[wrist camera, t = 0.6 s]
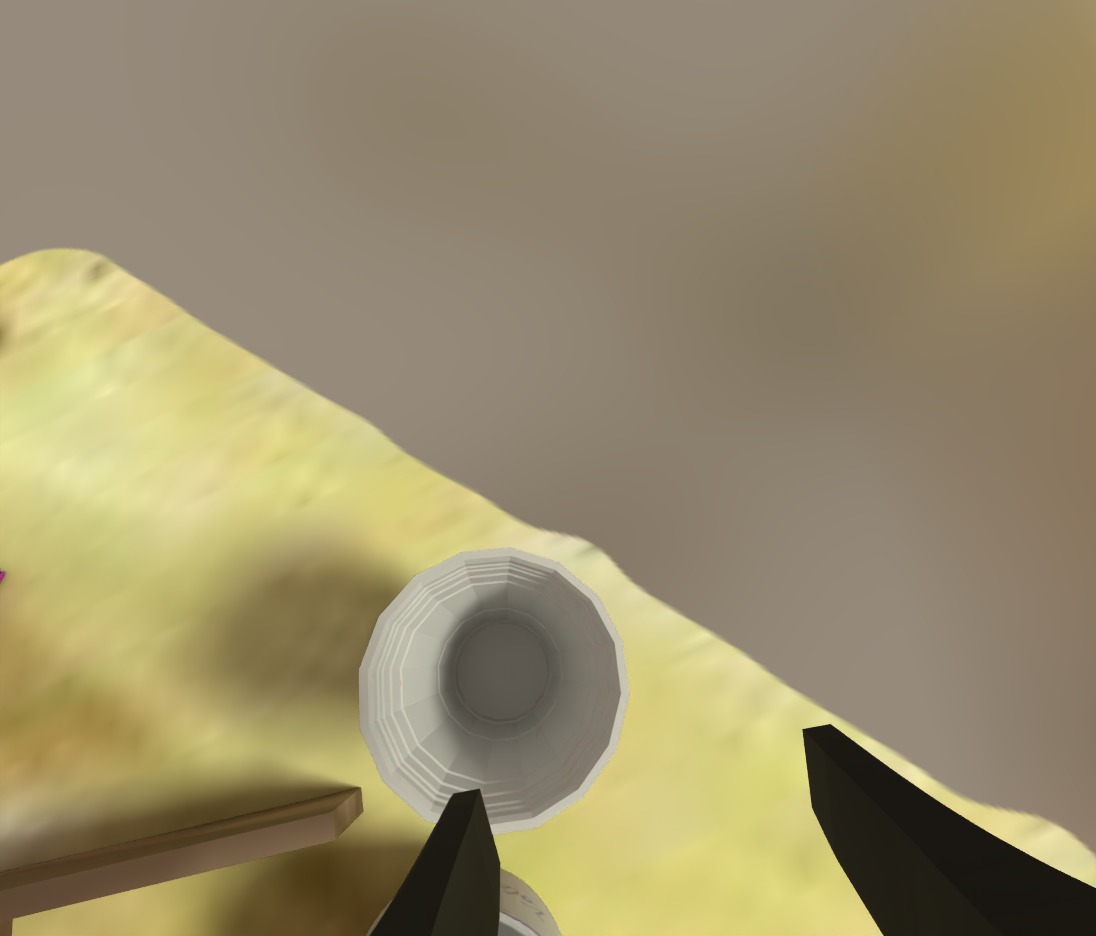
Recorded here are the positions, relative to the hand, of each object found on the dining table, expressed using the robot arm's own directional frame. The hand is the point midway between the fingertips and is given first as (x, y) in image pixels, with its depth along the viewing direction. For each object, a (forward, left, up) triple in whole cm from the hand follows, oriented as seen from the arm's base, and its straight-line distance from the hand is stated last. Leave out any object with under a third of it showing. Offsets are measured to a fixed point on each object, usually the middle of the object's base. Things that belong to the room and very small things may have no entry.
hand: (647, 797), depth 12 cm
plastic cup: (+3, +3, -22) cm, 23 cm away
